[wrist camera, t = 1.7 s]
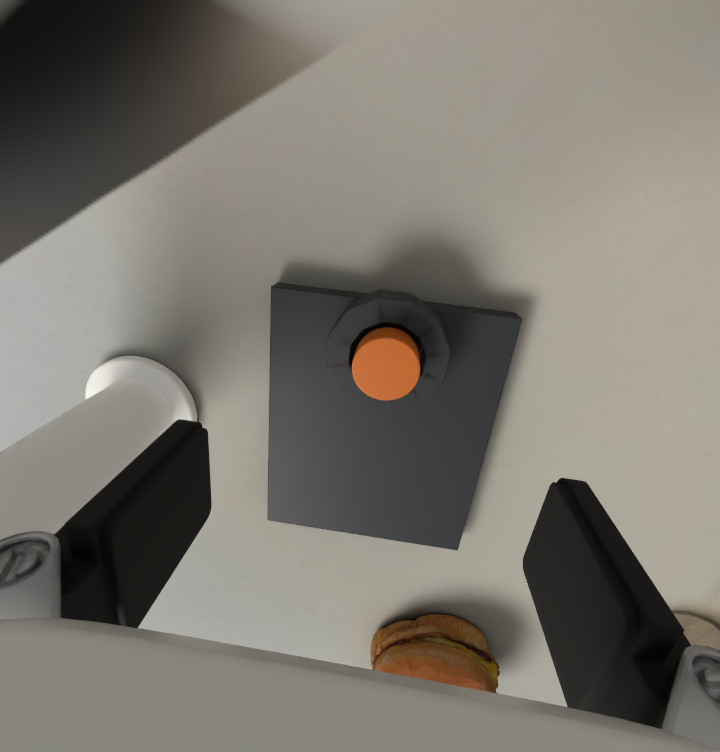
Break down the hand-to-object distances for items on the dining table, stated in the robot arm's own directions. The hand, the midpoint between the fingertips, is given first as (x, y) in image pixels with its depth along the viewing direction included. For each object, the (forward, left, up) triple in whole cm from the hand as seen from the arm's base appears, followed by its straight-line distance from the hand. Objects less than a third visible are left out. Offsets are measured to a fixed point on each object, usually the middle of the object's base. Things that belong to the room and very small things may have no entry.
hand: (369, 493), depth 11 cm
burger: (+25, +7, -13) cm, 29 cm away
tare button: (0, 0, -10) cm, 10 cm away
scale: (+5, 0, -13) cm, 14 cm away
